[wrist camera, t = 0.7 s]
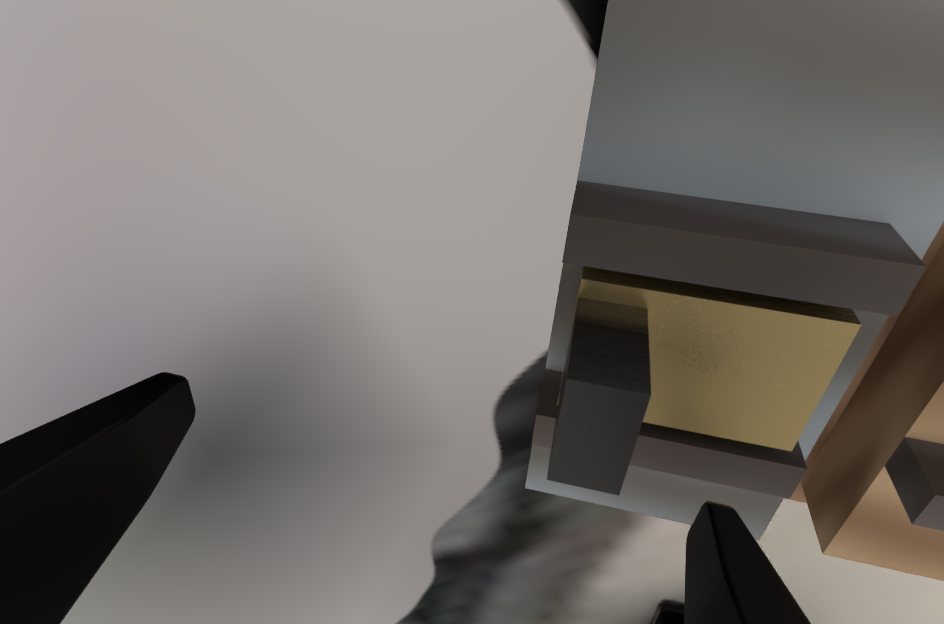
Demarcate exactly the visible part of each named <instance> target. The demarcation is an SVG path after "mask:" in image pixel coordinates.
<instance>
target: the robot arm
mask: <svg viewBox="0 0 944 624" xmlns="http://www.w3.org/2000/svg"><path fill="white" fill-rule="evenodd" d="M194 417H195V405H194V401H193V398H192V394H191V390H190V386H189V383H188V380H187V379H186V378H185V377H183V376H180V375H176V374H172V373H167V372H162V373H159V374H156V375H154V376H151V377H150V378H147V379H145V380H143V381H140V382H138V383H136V384H134V385H131V386H129V387H127V388H125V389H122V390H120V391H118V392H116V393H113V394H111V395H109V396H107V397H104V398H102V399H100V400H98V401H96V402H93V403H91V404H89V405H86V406H84V407H82V408H80V409H77V410H75V411H73V412H71V413H68V414H66V415H64V416H62V417H60V418H57V419H55V420H53V421H51V422H48V423H46V424H44V425H42V426H40V427H37V428H35V429H33V430H30V431H28V432H26V433H24V434H22V435H19V436H17V437H15V438H12V439H10V440H8V441H6V442H4V443H1V444H0V624H60V623H61V622H62V620H63V619H64V618H65V616H66V615H67V613H68V612H69V610H70V609H71V608H72V606H73V605H74V603H75V602H76V601H77V599H78V598H79V596H80V595H81V594H82V592H83V591H84V589H85V588H86V587H87V585H88V584H89V582H90V581H91V579H92V578H93V577H94V575H95V574H96V572H97V571H98V569H99V568H100V567H101V565H102V564H103V563H104V561H105V560H106V558H107V557H108V556H109V554H110V553H111V551H112V550H113V548H114V547H115V546H116V544H117V543H118V541H119V540H120V539H121V537H122V536H123V534H124V533H125V532H126V530H127V529H128V527H129V526H130V524H131V523H132V522H133V520H134V519H135V517H136V516H137V515H138V513H139V512H140V510H141V509H142V508H143V506H144V505H145V503H146V502H147V500H148V499H149V497H150V496H151V494H152V492H153V490H154V489H155V487H156V486H157V484H158V482H159V481H160V479H161V477H162V475H163V473H164V472H165V470H166V468H167V466H168V465H169V463H170V461H171V460H172V458H173V456H174V454H175V453H176V451H177V449H178V447H179V446H180V444H181V442H182V440H183V438H184V437H185V435H186V433H187V431H188V430H189V428H190V426H191V424H192V422H193V420H194ZM651 624H811V623H810V622H809V620H808V619H807V617H806V616H805V614H804V613H803V611H802V610H801V608H800V607H799V605H798V604H797V602H796V601H795V599H794V598H793V596H792V595H791V593H790V592H789V590H788V589H787V587H786V586H785V584H784V583H783V581H782V579H781V578H780V576H779V575H778V573H777V572H776V570H775V569H774V567H773V566H772V564H771V563H770V561H769V560H768V558H767V557H766V555H765V554H764V552H763V551H762V549H761V548H760V546H759V545H758V543H757V542H756V540H755V539H754V537H753V536H752V534H751V533H750V531H749V530H748V528H747V527H746V525H745V523H744V522H743V520H742V519H741V517H740V516H739V514H738V513H737V511H736V510H735V509H734V508H733V507H731V506H729V505H725V504H721V503H717V502H712V501H706V502H705V503H704V504H703V505H702V506H701V508H700V510H699V512H698V514H697V516H696V518H695V520H694V522H693V524H692V526H691V528H690V530H689V532H688V536H687V542H686V570H685V606H684V607H681V606H677V605H673V604H668V603H666V604H661V605H660V606H659V607H658V609H657V611H656V613H655V616H654V618H653V620H652V622H651Z"/></svg>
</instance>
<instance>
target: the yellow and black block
mask: <svg viewBox="0 0 944 624" xmlns="http://www.w3.org/2000/svg"><path fill="white" fill-rule="evenodd" d="M860 327H861V323H860V321H859V320H858V318H857V316H856V314H855V313H854V311H853V309H848V308H842V307H836V306H830V305H823V304H817V303H811V302H805V301H798V300H792V299H786V298H780V297H774V296H767V295H761V294H755V293H749V292H742V291H736V290H730V289H724V288H717V287H711V286H705V285H699V284H693V283H686V282H680V281H674V280H668V279H661V278H655V277H649V276H643V275H636V274H630V273H624V272H618V271H612V270H605V269H599V268H593V267H587V266H582V270H581V275H580V280H579V286H578V291H577V296H576V301H575V306H574V312H573V317H572V322H571V327H570V332H569V337H568V343H567V348H566V353H565V358H564V363H563V370H562V377H561V383H560V390H559V396H558V403H557V405H558V407H557V414H556V420H555V427H554V434H553V440H552V447H551V454H550V460H549V467H548V474H547V480H550V481H554V482H559V483H563V484H568V485H572V486H577V487H582V488H586V489H591V490H595V491H600V492H605V493H609V494H614V495H618V496H619V494H620V491H621V488H622V485H623V482H624V479H625V476H626V472H627V469H628V466H629V463H630V460H631V457H632V454H633V451H634V447H635V444H636V441H637V438H638V435H639V432H640V429H641V425H642V422H646V423H651V424H656V425H661V426H666V427H671V428H676V429H681V430H686V431H691V432H696V433H701V434H706V435H711V436H716V437H721V438H726V439H731V440H736V441H741V442H746V443H752V444H757V445H762V446H767V447H772V448H777V449H782V450H787V451H792V450H793V448H794V447H795V445H796V443H797V441H798V439H799V437H800V436H801V434H802V432H803V430H804V428H805V427H806V425H807V423H808V421H809V419H810V418H811V416H812V414H813V412H814V410H815V408H816V407H817V405H818V403H819V401H820V399H821V398H822V396H823V394H824V392H825V390H826V389H827V387H828V385H829V383H830V381H831V379H832V378H833V376H834V374H835V372H836V370H837V369H838V367H839V365H840V363H841V361H842V359H843V358H844V356H845V354H846V352H847V350H848V349H849V347H850V345H851V343H852V341H853V340H854V338H855V336H856V334H857V332H858V330H859V329H860Z"/></svg>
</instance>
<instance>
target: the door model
mask: <svg viewBox="0 0 944 624" xmlns="http://www.w3.org/2000/svg"><path fill="white" fill-rule="evenodd" d="M582 266H587V267H593V268H599V269H605V270H612V271H618V272H624V273H630V274H636V275H643V276H649V277H655V278H661V279H668V280H674V281H680V282H686V283H693V284H699V285H705V286H711V287H717V288H724V289H730V290H736V291H742V292H749V293H755V294H761V295H767V296H774V297H780V298H786V299H792V300H798V301H805V302H811V303H817V304H823V305H830V306H836V307H842V308H848V309H853V311H854V313H855V314H856V316H857V318H858V320H859V321H860V323H861V327H860V329H859V330H858V332H857V334H856V336H855V338H854V340H853V341H852V343H851V345H850V347H849V349H848V350H847V352H846V354H845V356H844V358H843V359H842V361H841V363H840V365H839V367H838V369H837V370H836V372H835V374H834V376H833V378H832V379H831V381H830V383H829V385H828V387H827V389H826V390H825V392H824V394H823V396H822V398H821V399H820V401H819V403H818V405H817V407H816V408H815V410H814V412H813V414H812V416H811V418H810V419H809V421H808V423H807V425H806V427H805V428H804V430H803V432H802V434H801V436H800V437H799V439H798V441H797V443H796V445H795V447H794V448H793V450H792V451H787V450H782V449H777V448H772V447H767V446H762V445H757V444H752V443H746V442H741V441H736V440H731V439H726V438H721V437H716V436H711V435H706V434H701V433H696V432H691V431H686V430H681V429H676V428H671V427H666V426H661V425H656V424H651V423H646V422H642V425H641V429H640V432H639V435H638V438H637V441H636V444H635V447H634V451H633V454H632V457H631V460H630V463H629V466H628V469H627V472H626V476H625V479H624V482H623V485H622V488H621V491H620V494H619V496H618V495H614V494H609V493H605V492H600V491H595V490H591V489H586V488H582V487H577V486H572V485H568V484H563V483H559V482H554V481H550V480H547V474H548V467H549V460H550V454H551V447H552V440H553V434H554V427H555V420H556V414H557V407H558V405H557V403H558V396H559V390H560V383H561V377H562V370H563V363H564V358H565V353H566V348H567V343H568V337H569V332H570V327H571V322H572V317H573V312H574V306H575V301H576V296H577V291H578V286H579V280H580V275H581V270H582ZM525 488H527V489H532V490H536V491H541V492H545V493H550V494H554V495H559V496H563V497H568V498H573V499H577V500H582V501H586V502H591V503H595V504H600V505H604V506H609V507H613V508H618V509H622V510H627V511H631V512H636V513H640V514H645V515H649V516H654V517H658V518H663V519H667V520H672V521H676V522H681V523H685V524H690V525H692V524H693V522H694V520H695V518H696V516H697V514H698V512H699V510H700V508H701V506H702V505H703V504H704V503H705V502H706V501H712V502H717V503H721V504H725V505H729V506H731V507H733V508H734V509H735V510H736V511H737V513H738V514H739V516H740V517H741V519H742V520H743V522H744V523H745V525H746V527H747V528H748V530H749V531H750V533H751V534H752V536H753V537H754V539H757V540H760V538H761V536H762V535H763V533H764V531H765V529H766V528H767V526H768V524H769V522H770V521H771V519H772V517H773V516H774V514H775V512H776V510H777V509H778V507H779V505H780V503H781V502H782V500H783V498H785V499H790V500H795V501H800V502H804V503H807V504H808V508H809V511H810V514H811V517H812V521H813V524H814V527H815V531H816V534H817V537H818V541H819V544H820V547H821V550H822V554H825V555H829V556H834V557H838V558H843V559H847V560H852V561H856V562H861V563H865V564H870V565H875V566H879V567H884V568H888V569H893V570H897V571H902V572H906V573H911V574H915V575H920V576H924V577H929V578H933V579H938V580H942V581H944V0H608V4H607V10H606V15H605V21H604V27H603V33H602V39H601V45H600V51H599V57H598V62H597V68H596V74H595V81H594V86H593V92H592V98H591V104H590V109H589V115H588V121H587V127H586V133H585V139H584V145H583V151H582V156H581V162H580V169H579V174H578V180H577V185H576V190H575V195H574V200H573V205H572V209H571V214H570V220H569V226H568V232H567V238H566V244H565V250H564V256H563V268H562V274H561V280H560V285H559V292H558V297H557V304H556V310H555V315H554V321H553V327H552V333H551V338H550V344H549V350H548V356H547V362H546V368H545V373H544V378H543V383H542V389H541V394H540V399H539V404H538V410H537V415H536V421H535V427H534V433H533V439H532V450H531V456H530V461H529V467H528V473H527V479H526V485H525Z"/></svg>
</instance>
